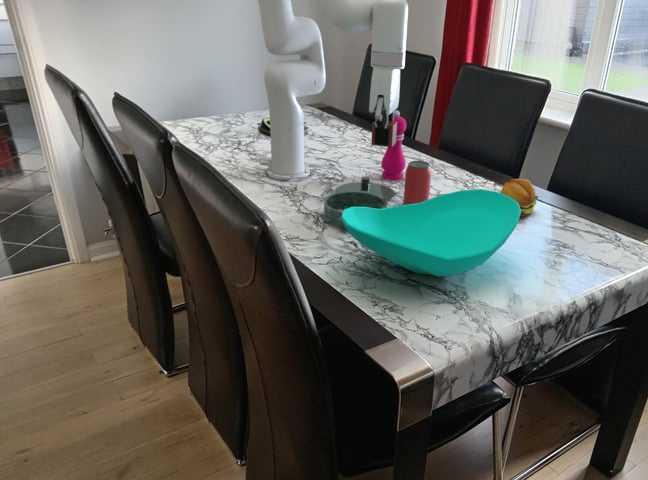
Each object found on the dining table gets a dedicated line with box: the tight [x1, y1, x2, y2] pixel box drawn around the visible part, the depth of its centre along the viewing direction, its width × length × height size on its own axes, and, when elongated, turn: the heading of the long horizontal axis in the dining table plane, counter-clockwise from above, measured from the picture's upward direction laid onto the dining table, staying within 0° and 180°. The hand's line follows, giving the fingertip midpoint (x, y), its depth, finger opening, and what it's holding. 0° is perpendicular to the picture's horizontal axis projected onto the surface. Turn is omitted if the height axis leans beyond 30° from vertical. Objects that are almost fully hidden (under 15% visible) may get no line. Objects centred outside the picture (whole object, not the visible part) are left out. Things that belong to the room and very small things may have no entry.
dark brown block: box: [370, 121, 397, 147], centre depth 135 cm, size 5×4×5 cm
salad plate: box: [256, 117, 310, 138], centre depth 213 cm, size 19×18×5 cm
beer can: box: [402, 160, 432, 205], centre depth 150 cm, size 7×7×12 cm
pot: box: [323, 191, 388, 230], centre depth 143 cm, size 15×21×4 cm
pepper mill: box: [380, 110, 407, 181], centre depth 168 cm, size 7×7×20 cm
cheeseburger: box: [500, 178, 539, 217], centre depth 152 cm, size 10×11×10 cm
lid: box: [334, 176, 396, 203], centre depth 158 cm, size 16×16×5 cm
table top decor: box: [341, 188, 521, 277], centre depth 120 cm, size 40×28×13 cm
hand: (383, 141), depth 136 cm, fingers closed on dark brown block, 4 cm apart
